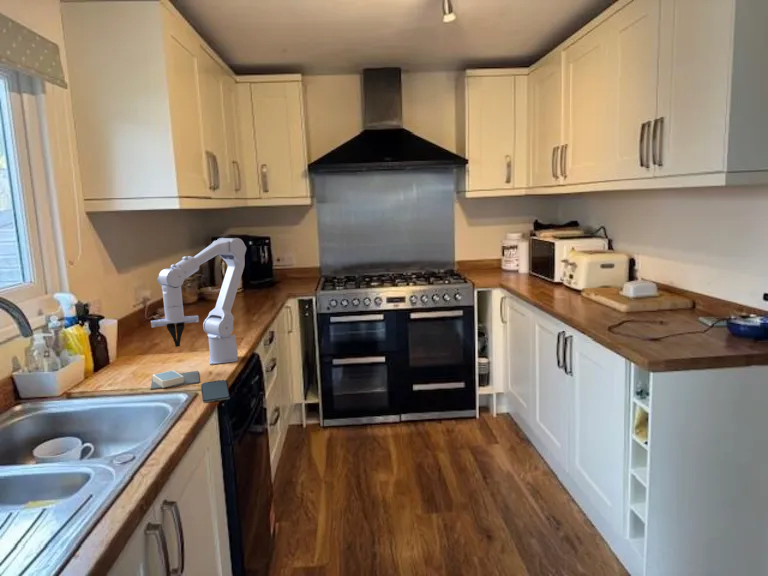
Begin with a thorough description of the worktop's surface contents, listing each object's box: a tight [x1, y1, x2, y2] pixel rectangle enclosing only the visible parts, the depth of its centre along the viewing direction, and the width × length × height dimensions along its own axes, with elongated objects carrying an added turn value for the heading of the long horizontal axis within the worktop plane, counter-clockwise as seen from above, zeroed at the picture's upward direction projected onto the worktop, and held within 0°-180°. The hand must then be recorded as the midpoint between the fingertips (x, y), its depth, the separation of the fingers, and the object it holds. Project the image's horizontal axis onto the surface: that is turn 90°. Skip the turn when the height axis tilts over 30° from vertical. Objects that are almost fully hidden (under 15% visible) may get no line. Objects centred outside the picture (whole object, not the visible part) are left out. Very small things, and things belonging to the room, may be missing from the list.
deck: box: [152, 369, 184, 389], centre depth 168 cm, size 2×9×6 cm
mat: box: [150, 370, 200, 390], centre depth 171 cm, size 14×12×1 cm
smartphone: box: [200, 379, 231, 404], centre depth 159 cm, size 8×2×15 cm
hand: (177, 345), depth 176 cm, fingers closed
